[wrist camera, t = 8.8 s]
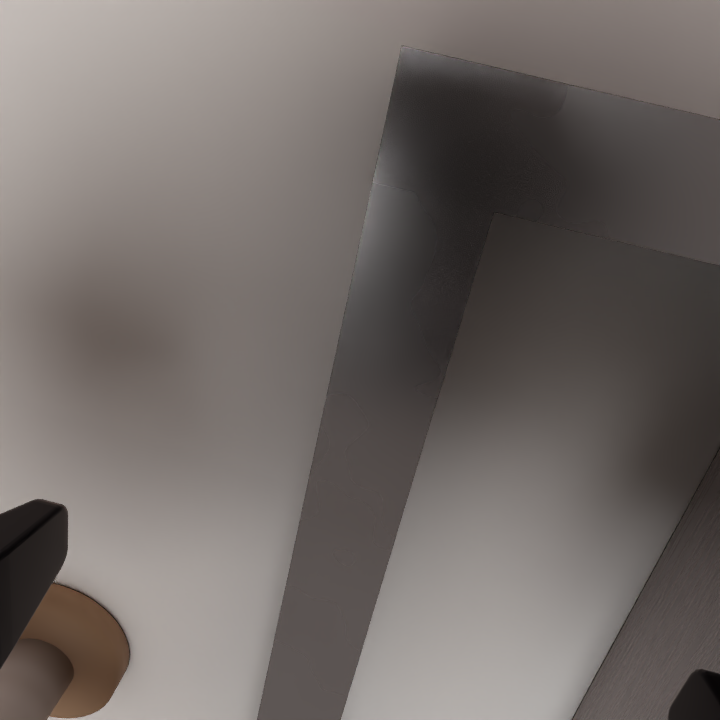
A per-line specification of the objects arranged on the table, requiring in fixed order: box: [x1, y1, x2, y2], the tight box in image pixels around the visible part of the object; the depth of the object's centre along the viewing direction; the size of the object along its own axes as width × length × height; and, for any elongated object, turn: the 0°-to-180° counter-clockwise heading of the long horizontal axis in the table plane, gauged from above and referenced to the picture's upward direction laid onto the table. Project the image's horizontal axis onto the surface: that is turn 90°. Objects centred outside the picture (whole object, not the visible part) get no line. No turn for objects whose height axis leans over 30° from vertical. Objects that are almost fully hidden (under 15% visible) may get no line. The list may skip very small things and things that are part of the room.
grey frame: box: [257, 46, 720, 720], centre depth 12 cm, size 20×9×4 cm, turn 168°
